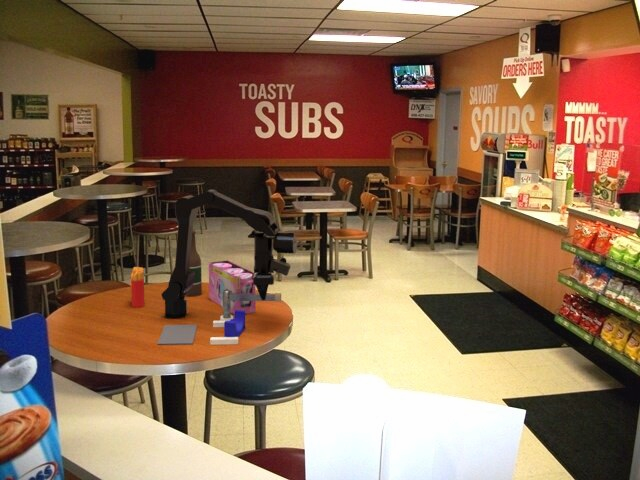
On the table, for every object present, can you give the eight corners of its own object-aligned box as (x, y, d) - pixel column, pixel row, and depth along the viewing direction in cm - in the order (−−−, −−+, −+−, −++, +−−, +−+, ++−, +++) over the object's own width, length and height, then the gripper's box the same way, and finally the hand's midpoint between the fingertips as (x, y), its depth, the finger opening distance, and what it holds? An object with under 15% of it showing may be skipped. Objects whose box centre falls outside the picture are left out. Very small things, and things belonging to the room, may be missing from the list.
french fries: (131, 301, 214) (130, 265, 211) (144, 300, 215) (142, 264, 213) (132, 309, 205) (131, 271, 203) (145, 308, 207) (144, 271, 204)
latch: (280, 319, 196) (281, 292, 194) (222, 318, 195) (222, 291, 193) (281, 316, 198) (281, 290, 196) (223, 315, 198) (223, 289, 196)
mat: (157, 345, 174) (157, 343, 174) (164, 326, 189) (164, 325, 189) (192, 344, 175) (192, 343, 175) (197, 325, 191) (197, 324, 190)
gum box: (258, 313, 205) (258, 274, 202) (236, 317, 200) (236, 277, 198) (228, 295, 224) (228, 259, 222) (208, 298, 220) (207, 262, 217)
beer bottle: (177, 295, 222) (176, 231, 217) (185, 290, 229) (184, 227, 225) (197, 297, 221) (196, 232, 216) (205, 291, 228) (204, 228, 224)
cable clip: (231, 328, 190) (231, 309, 189) (245, 329, 190) (245, 310, 188) (219, 341, 179) (219, 321, 177) (234, 342, 178) (234, 323, 177)
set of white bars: (210, 344, 175) (210, 339, 175) (214, 318, 198) (214, 314, 198) (238, 344, 176) (238, 339, 176) (239, 318, 199) (239, 313, 199)
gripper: (290, 258, 182) (290, 308, 185) (287, 246, 201) (287, 292, 203) (253, 258, 181) (253, 308, 184) (253, 246, 200) (254, 292, 202)
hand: (263, 300), depth 193 cm, fingers closed
